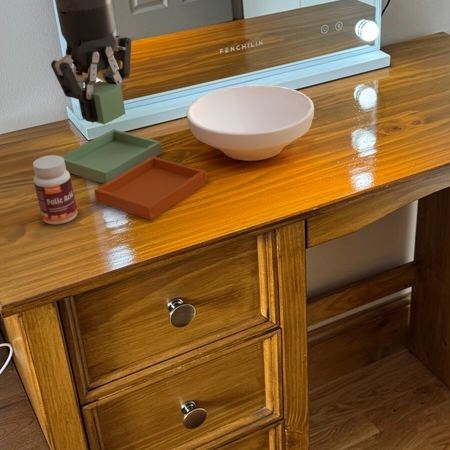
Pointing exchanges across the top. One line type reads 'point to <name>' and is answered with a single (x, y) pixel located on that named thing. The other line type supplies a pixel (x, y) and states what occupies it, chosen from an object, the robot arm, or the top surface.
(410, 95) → the top surface
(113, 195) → the reddish-brown tray
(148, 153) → the sage tray
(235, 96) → the bowl
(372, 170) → the top surface
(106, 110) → the sage block
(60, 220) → the pill bottle
